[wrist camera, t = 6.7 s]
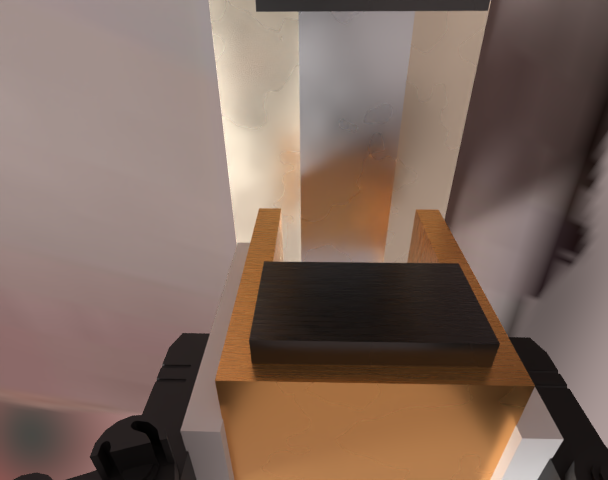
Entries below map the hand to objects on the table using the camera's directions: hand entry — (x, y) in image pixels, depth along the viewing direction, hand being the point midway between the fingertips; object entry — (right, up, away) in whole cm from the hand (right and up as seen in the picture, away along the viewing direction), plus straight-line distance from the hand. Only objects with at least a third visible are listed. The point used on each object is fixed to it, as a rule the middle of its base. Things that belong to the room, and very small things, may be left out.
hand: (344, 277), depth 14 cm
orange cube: (0, 0, 0) cm, 0 cm away
